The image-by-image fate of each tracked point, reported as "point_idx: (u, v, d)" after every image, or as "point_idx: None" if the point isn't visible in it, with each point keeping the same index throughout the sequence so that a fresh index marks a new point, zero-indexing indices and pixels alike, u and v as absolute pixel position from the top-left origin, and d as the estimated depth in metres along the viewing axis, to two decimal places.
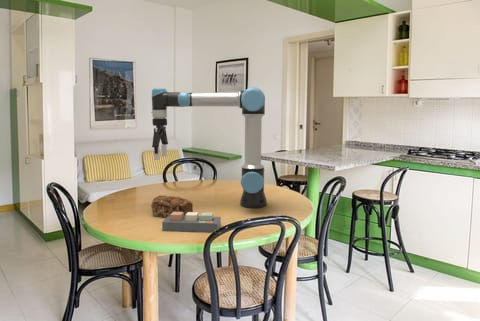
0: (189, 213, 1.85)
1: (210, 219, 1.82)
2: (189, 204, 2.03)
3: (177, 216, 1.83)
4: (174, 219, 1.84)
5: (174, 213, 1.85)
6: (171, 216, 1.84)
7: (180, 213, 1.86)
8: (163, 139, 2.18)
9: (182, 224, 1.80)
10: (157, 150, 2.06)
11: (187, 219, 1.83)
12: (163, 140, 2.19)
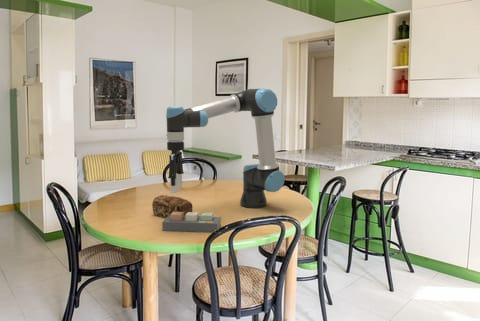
0: (189, 213, 1.85)
1: (210, 219, 1.82)
2: (188, 205, 2.01)
3: (177, 216, 1.83)
4: (174, 219, 1.84)
5: (174, 213, 1.85)
6: (171, 216, 1.84)
7: (180, 213, 1.86)
8: (178, 167, 1.86)
9: (182, 224, 1.80)
10: (174, 182, 1.77)
11: (187, 219, 1.83)
12: (178, 168, 1.87)
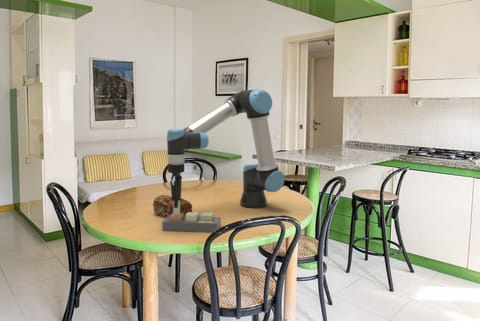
0: (189, 213, 1.85)
1: (210, 219, 1.82)
2: (187, 205, 2.00)
3: (177, 217, 1.83)
4: (174, 220, 1.84)
5: (174, 214, 1.85)
6: (171, 217, 1.84)
7: (180, 214, 1.86)
8: None
9: (182, 224, 1.80)
10: (177, 204, 1.84)
11: (187, 219, 1.83)
12: None
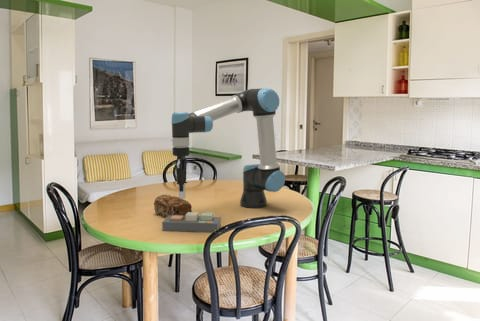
0: (189, 213, 1.85)
1: (210, 219, 1.82)
2: (186, 205, 2.00)
3: (177, 220, 1.84)
4: None
5: (174, 217, 1.86)
6: (171, 220, 1.84)
7: (180, 216, 1.86)
8: None
9: (182, 224, 1.80)
10: (182, 187, 1.83)
11: (187, 219, 1.83)
12: None
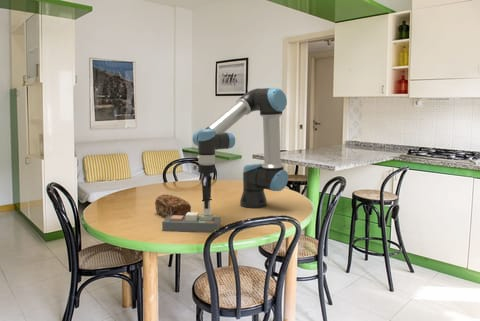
0: (189, 213, 1.85)
1: (210, 220, 1.82)
2: (185, 206, 1.99)
3: (177, 220, 1.84)
4: None
5: (174, 217, 1.86)
6: (171, 220, 1.84)
7: (180, 216, 1.86)
8: None
9: (182, 224, 1.80)
10: (207, 205, 1.82)
11: (187, 219, 1.83)
12: None
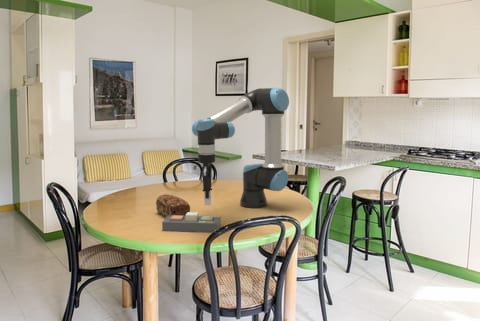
0: (189, 213, 1.85)
1: None
2: (184, 206, 1.98)
3: (177, 220, 1.84)
4: None
5: (174, 217, 1.86)
6: (171, 220, 1.84)
7: (180, 216, 1.86)
8: None
9: (182, 224, 1.80)
10: (208, 194, 1.82)
11: (187, 219, 1.83)
12: None
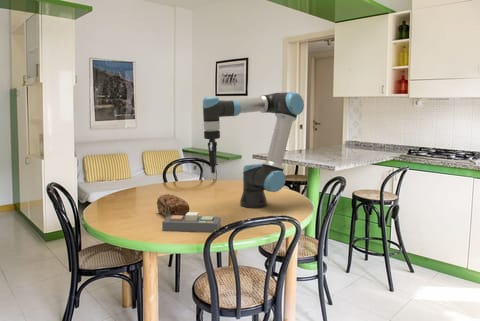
0: (189, 213, 1.85)
1: None
2: (183, 206, 1.98)
3: (177, 220, 1.84)
4: None
5: (174, 217, 1.86)
6: (171, 220, 1.84)
7: (180, 216, 1.86)
8: None
9: (182, 224, 1.80)
10: (214, 169, 1.92)
11: (187, 219, 1.83)
12: None
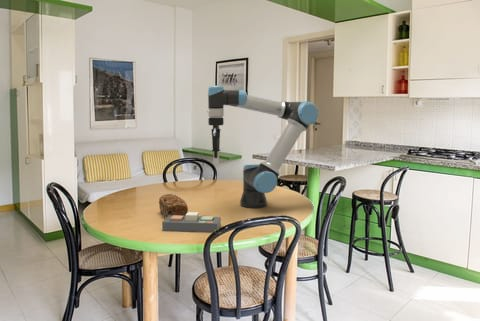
0: (189, 213, 1.85)
1: None
2: (181, 207, 1.97)
3: (177, 220, 1.84)
4: None
5: (174, 217, 1.86)
6: (171, 220, 1.84)
7: (180, 216, 1.86)
8: None
9: (182, 224, 1.80)
10: (217, 154, 2.02)
11: (187, 219, 1.83)
12: None
